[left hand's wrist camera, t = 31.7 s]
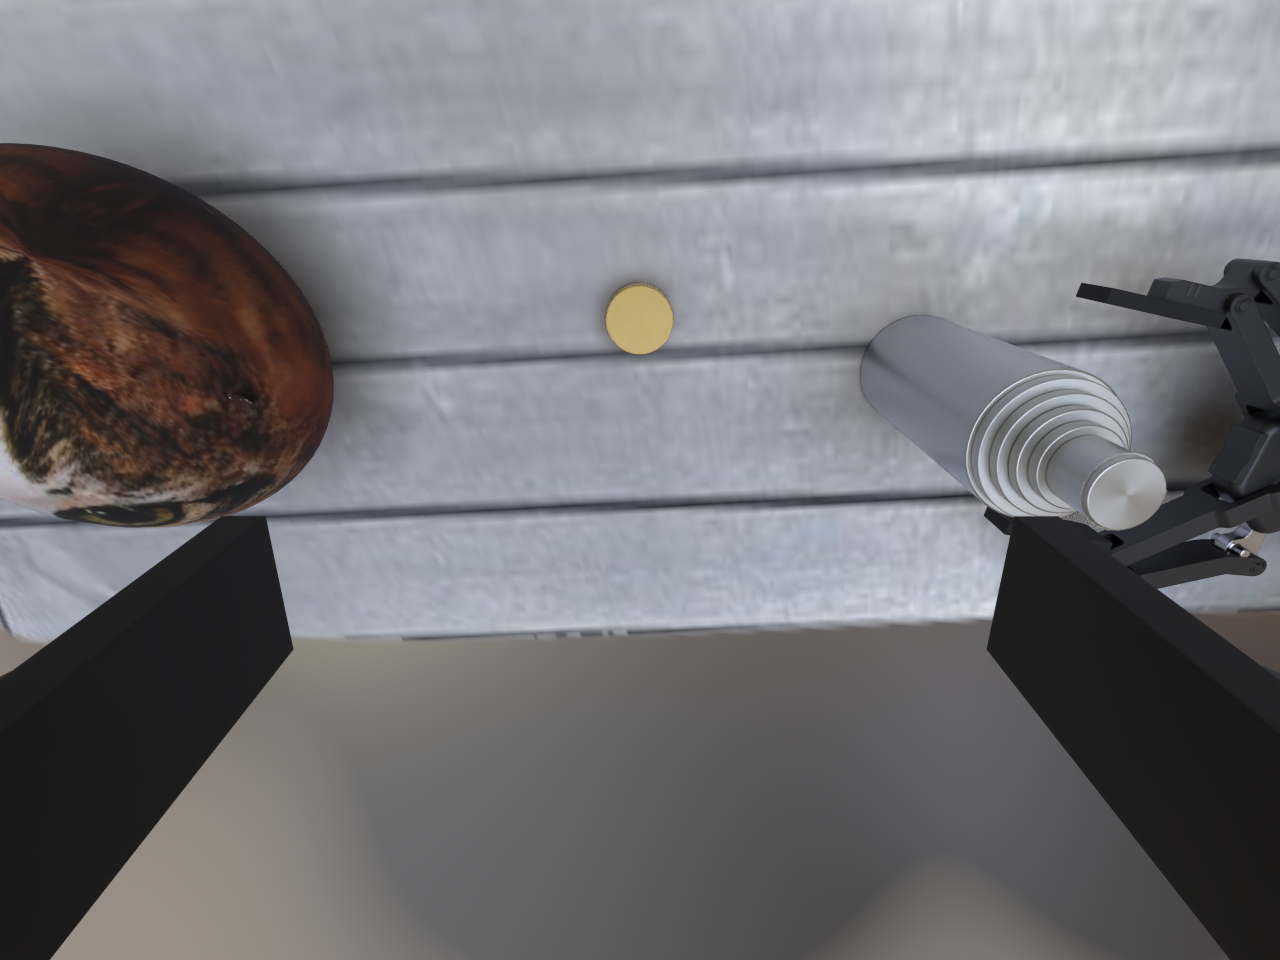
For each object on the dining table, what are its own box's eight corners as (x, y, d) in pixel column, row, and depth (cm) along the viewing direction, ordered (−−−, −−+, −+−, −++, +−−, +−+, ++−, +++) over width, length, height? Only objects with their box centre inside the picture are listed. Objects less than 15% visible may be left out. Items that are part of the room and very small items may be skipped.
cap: (639, 362, 46) (639, 369, 44) (592, 315, 45) (590, 320, 43) (686, 316, 45) (688, 321, 43) (639, 267, 44) (639, 270, 41)
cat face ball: (-102, 444, 42) (-494, 269, 24) (103, 231, 48) (-80, -37, 30) (253, 615, 46) (151, 579, 27) (400, 396, 52) (398, 246, 34)
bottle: (852, 418, 47) (1010, 576, 27) (868, 312, 45) (1056, 398, 24) (956, 422, 47) (1190, 582, 27) (978, 317, 45) (1254, 406, 25)
